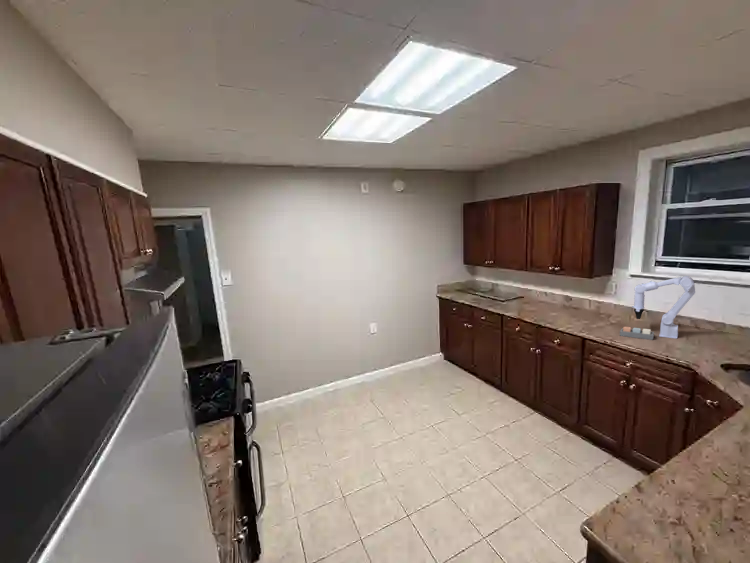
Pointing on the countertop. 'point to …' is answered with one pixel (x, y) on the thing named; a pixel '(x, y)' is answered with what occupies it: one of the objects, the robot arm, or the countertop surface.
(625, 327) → the key terracotta
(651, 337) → the grey slotted frame
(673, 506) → the countertop surface
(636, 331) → the key slate
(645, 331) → the key ivory
